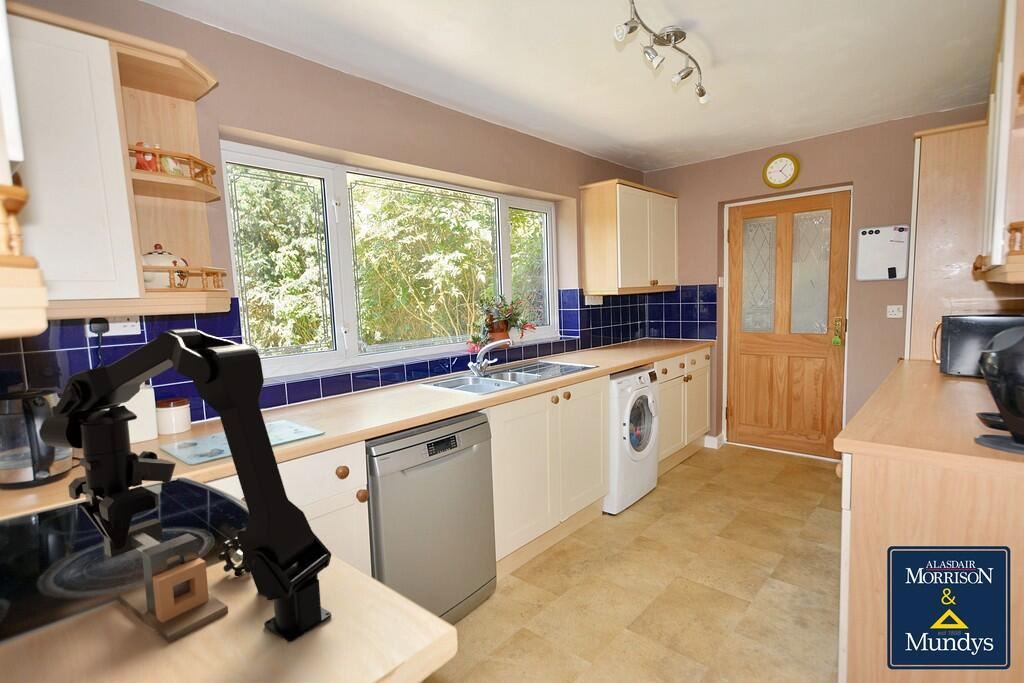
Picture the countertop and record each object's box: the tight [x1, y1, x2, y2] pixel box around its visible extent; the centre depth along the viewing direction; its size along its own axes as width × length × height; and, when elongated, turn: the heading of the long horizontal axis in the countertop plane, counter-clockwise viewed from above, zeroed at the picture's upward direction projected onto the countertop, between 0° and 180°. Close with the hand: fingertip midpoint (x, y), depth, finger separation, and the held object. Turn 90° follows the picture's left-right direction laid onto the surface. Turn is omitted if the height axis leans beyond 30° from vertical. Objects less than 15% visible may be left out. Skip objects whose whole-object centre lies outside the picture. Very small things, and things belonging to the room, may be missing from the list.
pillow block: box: [141, 533, 200, 617], centre depth 72 cm, size 3×6×9 cm, turn 145°
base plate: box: [117, 582, 229, 644], centre depth 73 cm, size 18×8×1 cm, turn 56°
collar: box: [153, 557, 209, 623], centre depth 71 cm, size 2×6×6 cm, turn 146°
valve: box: [217, 536, 251, 577], centre depth 87 cm, size 7×7×12 cm
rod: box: [103, 518, 180, 569], centre depth 76 cm, size 16×7×3 cm, turn 56°
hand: (117, 545), depth 78 cm, fingers closed on rod, 2 cm apart
